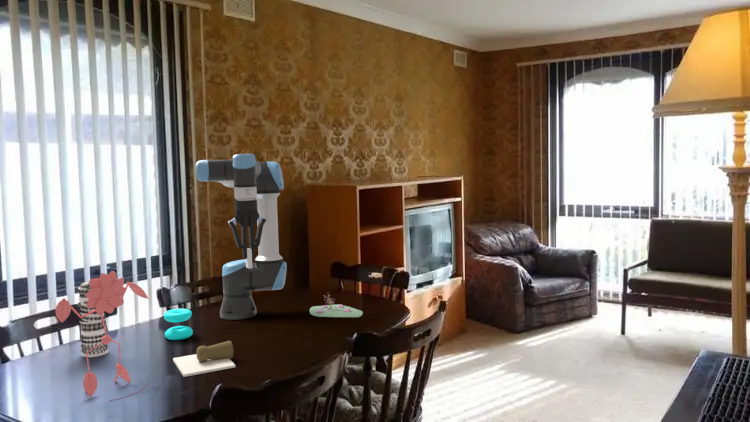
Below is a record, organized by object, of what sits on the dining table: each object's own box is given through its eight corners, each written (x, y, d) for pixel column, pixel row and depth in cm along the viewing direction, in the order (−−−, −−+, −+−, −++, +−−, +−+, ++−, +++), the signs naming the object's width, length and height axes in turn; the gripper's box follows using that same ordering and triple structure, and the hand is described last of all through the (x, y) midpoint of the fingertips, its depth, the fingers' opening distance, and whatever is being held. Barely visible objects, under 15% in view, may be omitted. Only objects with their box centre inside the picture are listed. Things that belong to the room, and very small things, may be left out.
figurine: (54, 400, 171) (47, 277, 168) (138, 373, 192) (133, 262, 188) (83, 414, 162) (76, 284, 159) (167, 384, 183) (163, 268, 179)
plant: (374, 309, 266) (373, 289, 266) (353, 321, 248) (352, 299, 247) (323, 305, 276) (322, 285, 276) (300, 316, 258) (299, 295, 257)
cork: (227, 354, 207) (194, 359, 201) (227, 337, 205) (195, 342, 200) (232, 361, 202) (199, 367, 196) (233, 344, 200) (200, 349, 195)
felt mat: (173, 360, 203) (172, 358, 203) (221, 352, 211) (221, 349, 211) (183, 377, 187) (183, 374, 187) (235, 367, 195) (235, 364, 195)
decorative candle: (115, 350, 216) (111, 280, 214) (95, 358, 207) (90, 285, 205) (95, 348, 219) (90, 279, 217) (74, 356, 210) (69, 284, 208)
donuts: (158, 311, 229) (182, 306, 236) (160, 337, 230) (184, 331, 237) (172, 315, 222) (196, 310, 229) (173, 342, 223) (198, 336, 230)
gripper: (229, 201, 202) (233, 271, 205) (267, 198, 208) (270, 267, 210) (224, 199, 209) (227, 267, 211) (261, 197, 214) (264, 263, 217)
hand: (249, 267), depth 211 cm, fingers closed
